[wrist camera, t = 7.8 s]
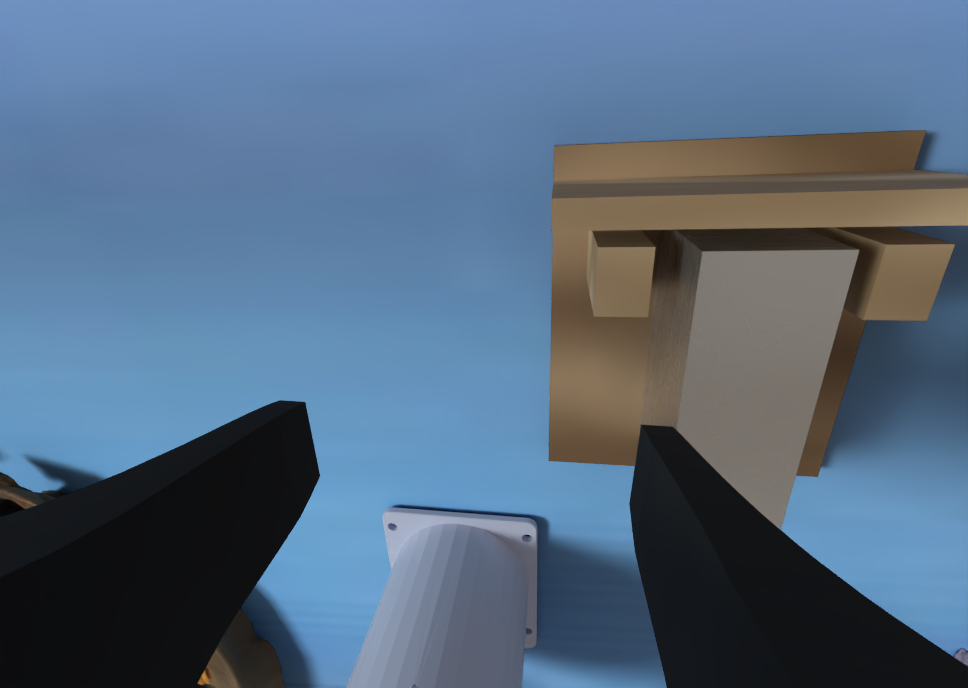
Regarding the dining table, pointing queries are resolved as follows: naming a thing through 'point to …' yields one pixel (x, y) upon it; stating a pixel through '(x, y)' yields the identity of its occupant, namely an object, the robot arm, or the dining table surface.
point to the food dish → (240, 655)
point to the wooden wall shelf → (725, 205)
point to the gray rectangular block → (744, 348)
